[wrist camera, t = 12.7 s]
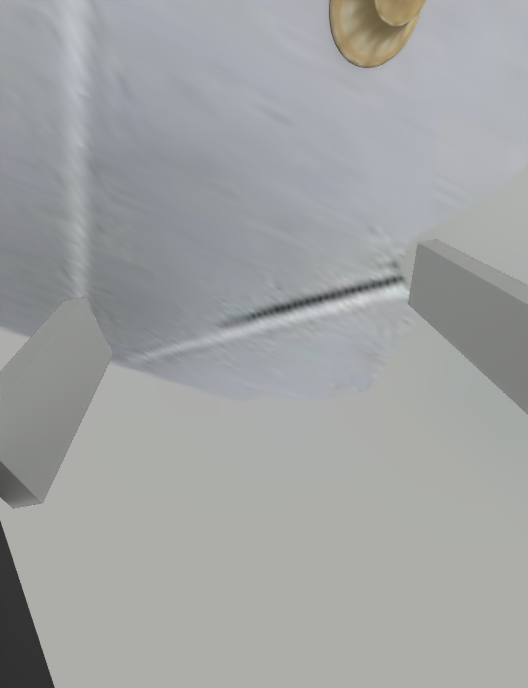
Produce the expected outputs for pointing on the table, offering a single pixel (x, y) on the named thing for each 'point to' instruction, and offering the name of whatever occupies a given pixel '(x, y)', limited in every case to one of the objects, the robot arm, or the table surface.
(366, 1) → the hand bell
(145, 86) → the table surface
